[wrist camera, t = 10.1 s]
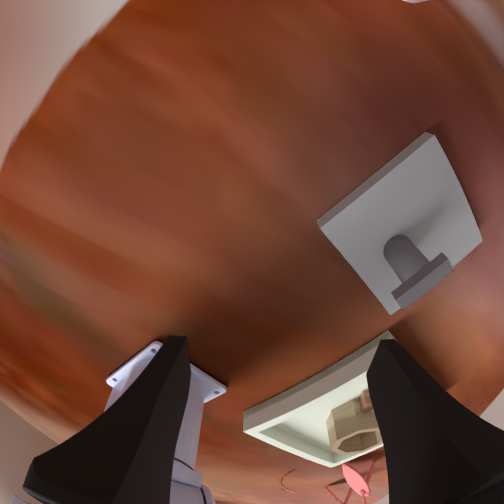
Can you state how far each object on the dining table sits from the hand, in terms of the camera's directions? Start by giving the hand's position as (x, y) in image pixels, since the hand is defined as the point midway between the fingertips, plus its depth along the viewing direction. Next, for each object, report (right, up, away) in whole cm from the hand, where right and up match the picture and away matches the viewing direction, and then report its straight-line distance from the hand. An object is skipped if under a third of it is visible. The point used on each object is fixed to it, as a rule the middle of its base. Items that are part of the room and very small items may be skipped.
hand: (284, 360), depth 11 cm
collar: (+9, -13, +16) cm, 23 cm away
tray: (+9, -12, +17) cm, 23 cm away
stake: (+9, +6, +8) cm, 13 cm away
